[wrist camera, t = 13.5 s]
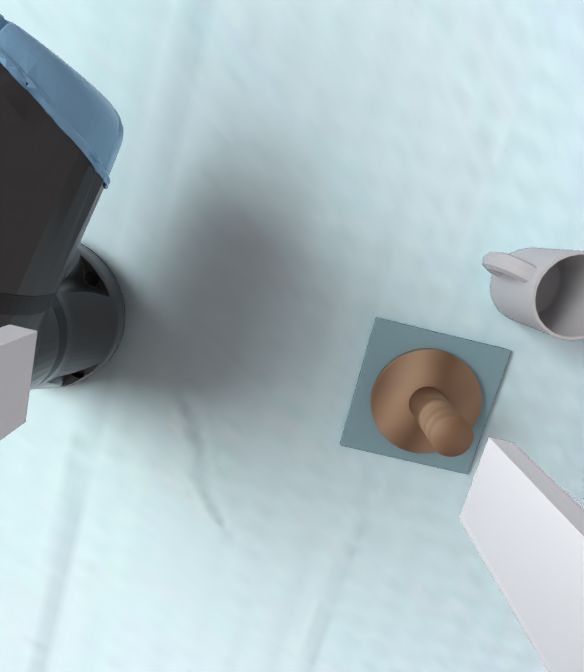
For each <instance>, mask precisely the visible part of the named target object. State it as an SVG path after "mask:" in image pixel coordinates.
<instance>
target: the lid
mask: <svg viewBox="0 0 584 672" xmlns="http://www.w3.org/2000/svg"><path fill="white" fill-rule="evenodd" d="M481 402H482V400H481V389H480V386H479V382H478V380H477V378H476V376H475V374H474V373H473V371H472V370H471V369H470V368H469V367H468V365H466V364H465V363H464V362H463V361H462V360H460V359H459V358H458V357H456V356H454V355H453V354H451V353H448V352H446V351H443V350H439V349H433V348H423V349H416V350H411V351H408V352H406V353H403V354H401V355H399V356H398V357H396V358H395V359H393V360H392V361H391V362H389V363H388V364H387V365H386V366H385V367H384V368H383V369H382V371H381V372H380V374H379V375H378V377H377V379H376V381H375V383H374V386H373V389H372V393H371V410H372V415H373V417H374V420H375V423H376V425H377V427H378V429H379V430H380V432H381V433H382V435H383V436H384V437H385V438H386V439H387V440H388V441H389V442H391V443H392V444H393V445H395V446H397V447H398V448H400V449H403V450H405V451H409V452H413V453H423V454H426V453H435V452H438V453H439V454H441V455H443V456H446V457H455V456H459V455H461V454H463V453H465V452H466V451H467V450H468V449H469V448H470V446H471V445H472V443H473V439H474V433H473V429H472V428H473V426H474V425H475V423H476V421H477V419H478V416H479V413H480V409H481Z"/></svg>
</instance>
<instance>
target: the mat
mask: <svg viewBox="0 0 584 672" xmlns="http://www.w3.org/2000/svg"><path fill="white" fill-rule="evenodd" d="M423 348H433V349H439V350H443V351H446V352H448V353H451V354H453V355H454V356H456V357H458V358H459V359H460V360H462V361H463V362H464V363H465V364H466V365H468V367H469V368H470V369H471V370H472V371H473V373H474V374H475V376H476V378H477V380H478V382H479V386H480V389H481V400H482V402H481V409H480V413H479V416H478V419H477V421H476V423H475V425H474V426H473V428H472V429H473V433H474V439H473V443H472V445H471V446H470V448H469V449H468V450H467V451H466V452H465V453H463V454H461V455H459V456H455V457H446V456H443V455H441V454H439V453H438V452H435V453H426V454H423V453H413V452H409V451H405V450H403V449H400V448H398V447H397V446H395V445H393V444H392V443H391V442H389V441H388V440H387V439H386V438H385V437H384V436H383V435H382V433H381V432H380V430H379V429H378V427H377V425H376V423H375V420H374V417H373V415H372V410H371V393H372V389H373V386H374V383H375V381H376V379H377V377H378V375H379V374H380V372H381V371H382V369H383V368H384V367H385V366H386V365H387V364H388V363H389V362H391V361H392V360H393V359H395V358H396V357H398V356H399V355H401V354H403V353H406V352H408V351H411V350H416V349H423ZM510 353H511V350H509V349H505V348H500V347H496V346H492V345H488V344H484V343H480V342H476V341H472V340H467V339H463V338H459V337H455V336H451V335H447V334H443V333H438V332H434V331H430V330H426V329H422V328H418V327H414V326H409V325H405V324H401V323H397V322H393V321H389V320H385V319H380V318H376V319H375V323H374V326H373V330H372V333H371V337H370V340H369V344H368V347H367V351H366V354H365V358H364V361H363V365H362V368H361V372H360V375H359V379H358V382H357V386H356V389H355V393H354V396H353V400H352V404H351V407H350V411H349V414H348V418H347V421H346V425H345V428H344V432H343V435H342V439H341V442H340V444H341V446H346V447H350V448H354V449H359V450H363V451H368V452H372V453H376V454H381V455H385V456H389V457H394V458H398V459H403V460H407V461H411V462H416V463H420V464H424V465H429V466H433V467H438V468H442V469H446V470H451V471H455V472H459V473H464V474H468V472H469V469H470V466H471V463H472V460H473V458H474V455H475V452H476V449H477V446H478V444H479V441H480V438H481V435H482V432H483V429H484V427H485V424H486V421H487V418H488V415H489V412H490V410H491V407H492V404H493V401H494V398H495V396H496V393H497V390H498V387H499V384H500V381H501V379H502V376H503V373H504V370H505V367H506V364H507V362H508V359H509V356H510Z"/></svg>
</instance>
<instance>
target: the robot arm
mask: <svg viewBox="0 0 584 672" xmlns="http://www.w3.org/2000/svg"><path fill="white" fill-rule="evenodd" d="M122 140H123V126H122V122H121V119H120V117H119V115H118V113H117V112H116V110H115V109H114V107H113V106H112V104H111V103H110V102H109V101H108V100H107V99H106V98H105V97H104V96H103V95H102V94H101V93H100V92H99V91H98V90H97V89H96V88H95V87H94V86H93V85H91V84H90V83H89V82H88V81H87V80H86V79H85V78H84V77H82V76H81V75H80V74H79V73H78V72H76V71H75V70H74V69H73V68H72V67H70V66H69V65H68V64H67V63H65V62H64V61H63V60H62V59H61V58H59V57H58V56H57V55H55V54H54V53H53V52H52V51H50V50H49V49H48V48H47V47H45V46H44V45H43V44H41V43H40V42H39V41H38V40H36V39H35V38H34V37H32V36H31V35H30V34H28V33H27V32H25V31H24V30H23V29H21V28H20V27H19V26H17V25H16V24H14V23H12V22H10V21H7V20H5V19H4V17H3V16H2V15H1V14H0V440H1V439H3V438H4V437H5V436H7V435H8V434H10V433H11V432H12V431H14V430H15V429H16V428H18V427H19V426H21V425H22V424H23V423H25V422H26V414H27V407H28V399H29V392H30V390H31V389H45V388H58V387H64V386H68V385H71V384H74V383H76V382H79V381H81V380H83V379H85V378H86V377H88V376H90V375H91V374H93V373H94V372H95V371H97V370H98V369H100V368H101V367H102V366H103V365H104V364H105V363H106V362H107V361H108V360H109V359H110V358H111V357H112V355H113V354H114V353H115V351H116V349H117V347H118V345H119V343H120V341H121V338H122V335H123V330H124V324H125V308H124V301H123V297H122V293H121V290H120V288H119V285H118V283H117V281H116V279H115V277H114V276H113V274H112V272H111V271H110V269H109V268H108V267H107V265H106V264H105V263H104V262H103V261H102V260H101V259H100V258H99V257H98V256H97V255H96V254H95V253H94V252H92V251H91V250H90V249H88V248H87V247H85V246H84V245H82V244H80V241H81V239H82V237H83V234H84V232H85V230H86V227H87V225H88V223H89V221H90V218H91V216H92V214H93V212H94V209H95V207H96V205H97V203H98V200H99V198H100V196H101V194H102V191H103V189H104V188H105V189H107V188H108V186H109V184H110V178H109V175H110V172H111V169H112V167H113V164H114V162H115V159H116V157H117V154H118V151H119V149H120V146H121V143H122ZM459 520H460V522H461V523H462V525H463V527H464V529H465V530H466V532H467V534H468V535H469V537H470V539H471V541H472V542H473V544H474V546H475V547H476V549H477V551H478V553H479V554H480V556H481V558H482V560H483V561H484V563H485V565H486V566H487V568H488V570H489V572H490V573H491V575H492V577H493V578H494V580H495V582H496V584H497V585H498V587H499V589H500V591H501V592H502V594H503V596H504V597H505V599H506V601H507V603H508V604H509V606H510V608H511V609H512V611H513V613H514V615H515V616H516V618H517V620H518V621H519V623H520V625H521V627H522V628H523V630H524V632H525V634H526V635H527V637H528V639H529V640H530V642H531V644H532V646H533V647H534V649H535V651H536V652H537V654H538V656H539V658H540V659H541V661H542V663H543V664H544V666H545V668H546V670H547V671H548V672H584V510H583V509H582V508H581V507H580V506H579V505H578V504H577V503H576V502H575V501H574V500H573V499H572V498H571V497H570V496H569V495H568V494H566V493H565V492H564V491H563V490H562V489H561V488H560V487H559V486H558V485H557V484H556V483H555V482H554V481H553V480H552V479H551V478H550V477H549V476H548V475H547V474H546V473H545V472H544V471H542V470H541V469H540V468H539V467H538V466H537V465H536V464H535V463H534V462H533V461H532V460H531V459H530V458H529V457H528V456H527V455H526V454H525V453H524V452H523V451H522V450H521V449H520V448H519V447H517V446H516V445H515V444H514V443H512V442H508V441H504V440H499V439H495V438H491V437H489V438H488V441H487V443H486V446H485V449H484V452H483V454H482V457H481V460H480V462H479V465H478V468H477V471H476V473H475V476H474V479H473V481H472V484H471V487H470V490H469V492H468V495H467V498H466V501H465V503H464V506H463V509H462V511H461V514H460V517H459Z"/></svg>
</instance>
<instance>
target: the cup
mask: <svg viewBox="0 0 584 672" xmlns="http://www.w3.org/2000/svg"><path fill="white" fill-rule="evenodd" d="M482 265H483V266H484V267H485V269H486V270H487V271H488V272H490V273H492V274H493V275H492V278H491V283H490V293H491V298H492V300H493V303H494V305H495V306H496V307H497V309H498V310H499V311H500V312H501V313H502V314H504V315H505V316H506V317H508V318H510V319H512V320H515V321H517V322H520V323H522V324H525V325H527V326H530V327H532V328H535V329H537V330H540V331H542V332H545V333H547V334H549V335H552V336H555V337H557V338H560V339H566V340H577V339H583V338H584V251H575V250H560V249H545V248H525V249H520V250H517V251H515V252H513V253H510V254H506V253H500V252H489V253H488V254H486V255H485V256H484V257H483V263H482Z"/></svg>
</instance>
